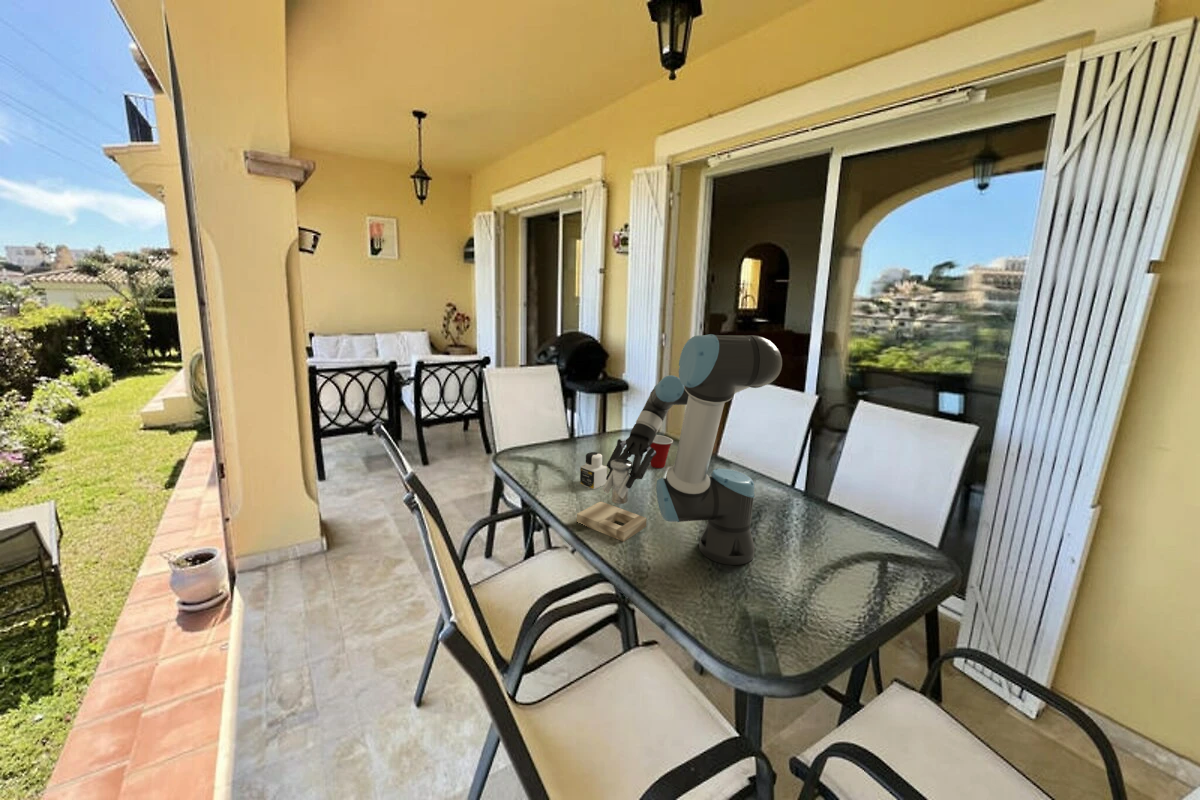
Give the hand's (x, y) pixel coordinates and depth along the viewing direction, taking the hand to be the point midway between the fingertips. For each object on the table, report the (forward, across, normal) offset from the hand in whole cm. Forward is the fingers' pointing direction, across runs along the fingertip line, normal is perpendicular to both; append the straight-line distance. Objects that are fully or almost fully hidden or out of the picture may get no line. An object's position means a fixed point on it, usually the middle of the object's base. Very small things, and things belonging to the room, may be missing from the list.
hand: (612, 493), depth 148 cm
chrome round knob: (0, 0, -5) cm, 5 cm away
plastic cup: (-31, +18, -50) cm, 61 cm away
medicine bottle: (-8, +26, -26) cm, 38 cm away
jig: (+6, +2, -11) cm, 13 cm away
